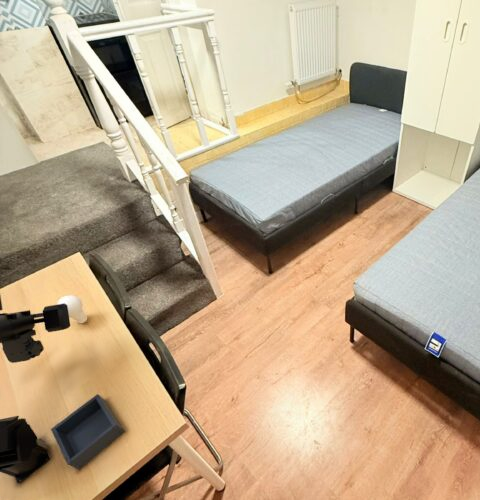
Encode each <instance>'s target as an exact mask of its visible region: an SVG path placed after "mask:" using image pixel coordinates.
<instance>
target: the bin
mask: <svg viewBox="0 0 480 500" xmlns="http://www.w3.org/2000/svg"><path fill="white" fill-rule="evenodd" d="M50 430H51V433H52V435H53V437H54V439H55V441H56V444H57V445H58V448H59V449H60V452H61V454H62V456H63V458H64V460H65V462H66V464H67V465H68V466H70V467H72V468H74V469H75V470H78V471H81V470H82V469H83V468H84V467H85V466H86V465H88V463H90V462H91V461H92V460H93V459H94V458H96V457H97V456H98V455H99V454H100V453H101V452H103V451H104V450H105V449H107V447H109V446H110V445H111V444H112V443H113V442H115V441H116V440H117V439H118V438H119V437H121V436H122V435H123V434H124V433H125V432H126V430H125V428H124V427H123V425H122V423H121V422H120V420H119V419H118V417H117V415H116V414H115V412H114V410H113V408H111V406H110V404H109V403H108V401H107V400H106V399H104V397H102V396H101V395H99V394H98V393H96V394H95V395H94V396H92V397H91V398H90V399H89V400H88V401H86V402H85V403H83V404H82V405H80V406H79V407H78V408H77V409H75V410H74V411H73V412H72V413H70V414H69V415H67V416H66V417H65V418H64V419H62V420H61V421H60V422H58V423H57V424H55V425H54V426H53V427H51V428H50Z"/></svg>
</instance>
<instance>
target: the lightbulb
mask: <svg viewBox="0 0 480 500" xmlns="http://www.w3.org/2000/svg"><path fill="white" fill-rule="evenodd" d="M64 303H65V304H66V305H67V307H68V313H69V318H71V319H72V320H74V321H75V322H77V323H78V324H83V323H85V322H87V320H88V317H87V315H86V314H85V312H84V309H83V301H82V300H81V299H80V297H78V296H76V295H71V294H70V295H65V296H62V297H61V298H59V300H58V301H57V302H56V305H57V304H64Z"/></svg>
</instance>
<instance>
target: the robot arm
mask: <svg viewBox="0 0 480 500" xmlns="http://www.w3.org/2000/svg"><path fill="white" fill-rule="evenodd" d="M3 309H4V308H3V303H2V296H1V294H0V311H3ZM42 323H44V329H45V331H46V332H47V333H53V332H58V331H64V330H67V329H69V328H70V327H71V319H70V317H69V313H68V307H67V305H66V304H65V303H64V304H57V303H56V304H52V305H46V306H44V307H43V310H42V312H37V313H32V312H31V310H21V311H16V312H9V313H8V312H2V313H0V344H1V348H2V351H3V354H4V355H5V357H6V359H7V361H8V362H9V363H12V364H15V363H22V362H26V361H27V362H28V361H30V360H31V359H35V358H36V357H39V356H41V353H42V352H43V351H44V349H45V348H44V345H43V343H42V341H41V340H38V339H37V340H35V339H34V337H33V336H37V332H36V329H35V326H36V324H42ZM19 417H20V416H19V415H15V416H10V417H5V418H0V473H1V474H4V475H7V476H10V477H12V478H13V477H14V479H15V482H16V484H19V485H20V484H22V483H23V482H25V481H26V480H27V479H29V477H31V476H32V475H34V473H36V472H37V471H38V470H40V469H41V468H42V467H44V465H46V464H47V463H48V462H50V460H51V456H50V453H49V447H48V445H47V443H46V441H44V440H43V439H42V438H38V436H37V434H36V432H35V431H34V430H33V428H32V426H31V425H30V423H28V422H27V418H22V417H21V418H19Z"/></svg>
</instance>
